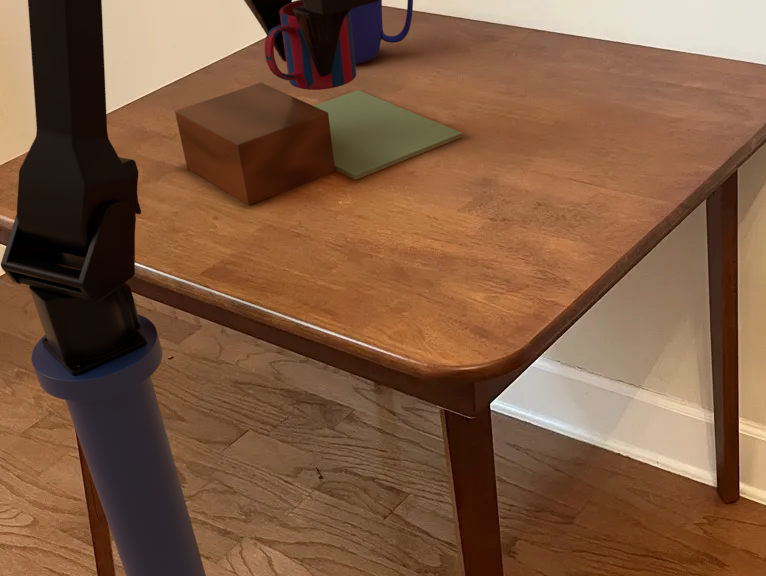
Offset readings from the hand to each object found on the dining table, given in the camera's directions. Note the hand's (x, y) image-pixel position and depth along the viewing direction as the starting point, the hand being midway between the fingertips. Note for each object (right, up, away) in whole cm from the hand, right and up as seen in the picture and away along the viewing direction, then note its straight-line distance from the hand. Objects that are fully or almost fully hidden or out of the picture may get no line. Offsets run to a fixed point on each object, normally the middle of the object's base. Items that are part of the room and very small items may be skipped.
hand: (306, 67), depth 100 cm
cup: (0, -1, +1) cm, 2 cm away
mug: (+5, +10, +26) cm, 28 cm away
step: (-5, -9, +2) cm, 11 cm away
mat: (+5, -4, +7) cm, 10 cm away
